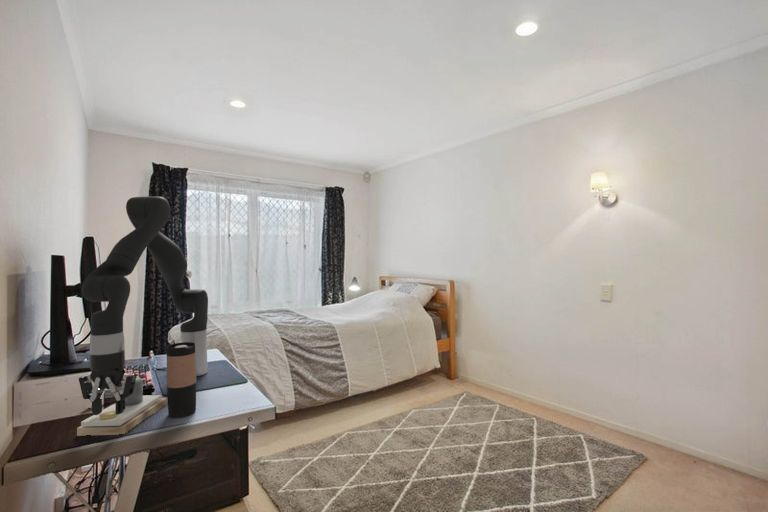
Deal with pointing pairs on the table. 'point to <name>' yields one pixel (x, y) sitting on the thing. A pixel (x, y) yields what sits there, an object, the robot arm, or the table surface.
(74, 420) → the table surface
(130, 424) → the oak base
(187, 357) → the travel mug
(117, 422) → the plate
